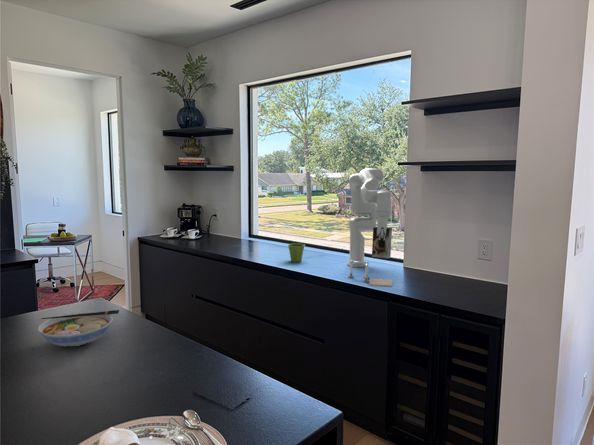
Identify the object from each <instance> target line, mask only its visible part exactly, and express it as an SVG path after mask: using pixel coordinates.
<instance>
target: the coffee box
mask: <svg viewBox="0 0 594 445" xmlns="http://www.w3.org/2000/svg"><path fill="white" fill-rule="evenodd" d="M379 235H380V234H378V235H377V226H376V227H374V228H373V232H372V244H371V245H372V246H371V249H372V250H371V257H373V258H382V259H389V258H390V257H391V256H392V255H391V253H392V252H391V250H392V237H393V236H392V235H393V228H392V227H387V230H386V235H385V248H379V237H380V236H379ZM383 235H384V230H383Z"/></svg>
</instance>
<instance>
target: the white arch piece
mask: <svg viewBox="0 0 594 445" xmlns="http://www.w3.org/2000/svg"><path fill="white" fill-rule="evenodd" d="M353 263H363V264H366V265H365V266H364V268H365V270H364V272H365V273H364V277H363V283H366V284H367V283H368V284H370V276H369V263H370V262H369V261H364V262H358V261H350V266H349V275H348V279H354V275H353V269H354V268H353Z"/></svg>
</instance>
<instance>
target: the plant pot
mask: <svg viewBox="0 0 594 445" xmlns="http://www.w3.org/2000/svg"><path fill="white" fill-rule="evenodd" d="M287 246H288V251H289V257H290V261H291V262H292V263H300V262H302V259H303V254H304V253H303V252H304V249H305V246H306V244H303V243H290V244H287Z"/></svg>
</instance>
